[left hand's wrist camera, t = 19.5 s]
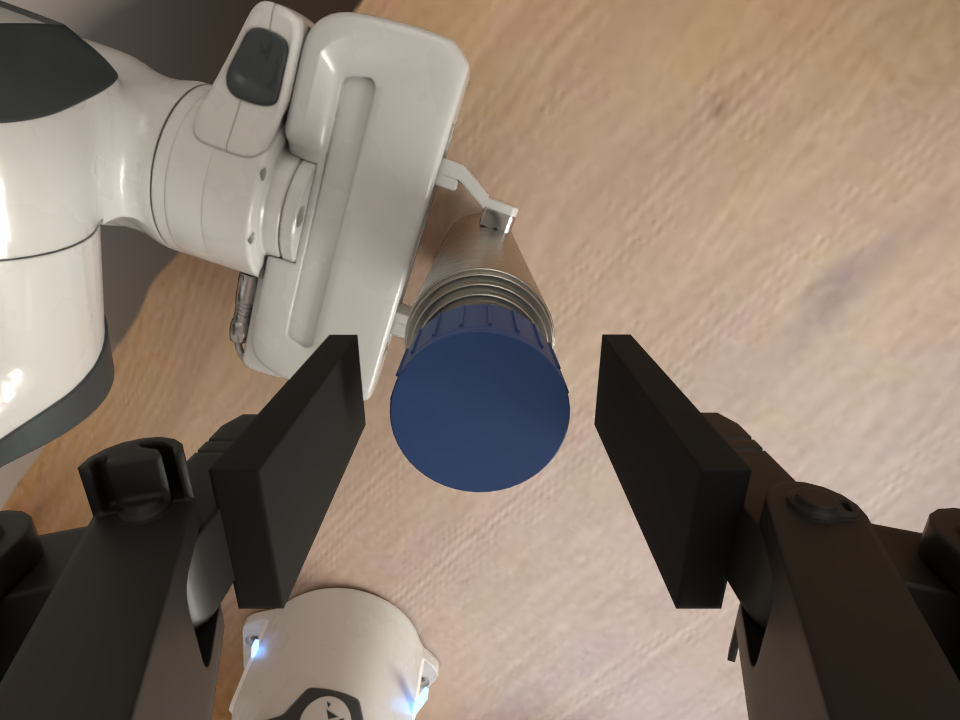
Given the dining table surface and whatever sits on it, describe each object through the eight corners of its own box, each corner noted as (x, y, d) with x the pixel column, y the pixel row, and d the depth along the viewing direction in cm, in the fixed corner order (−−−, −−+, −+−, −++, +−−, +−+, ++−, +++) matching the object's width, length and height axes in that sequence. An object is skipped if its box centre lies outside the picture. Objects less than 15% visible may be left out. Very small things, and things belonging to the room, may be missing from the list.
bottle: (492, 300, 37) (513, 519, 14) (430, 264, 36) (344, 437, 13) (529, 238, 35) (622, 370, 12) (466, 199, 34) (439, 265, 11)
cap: (376, 334, 14) (357, 366, 12) (528, 278, 13) (538, 301, 11) (437, 463, 15) (430, 514, 13) (576, 417, 15) (593, 462, 13)
